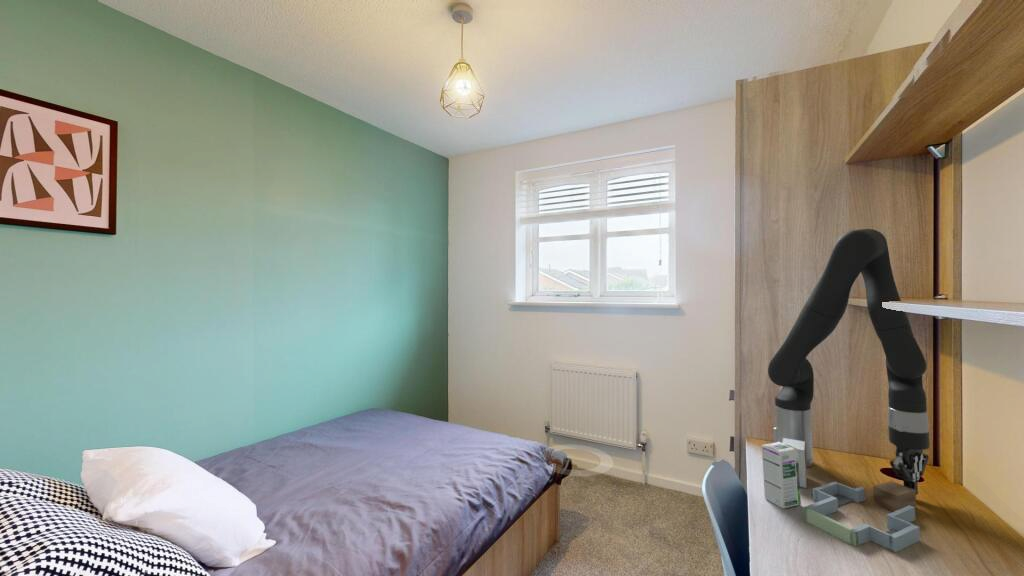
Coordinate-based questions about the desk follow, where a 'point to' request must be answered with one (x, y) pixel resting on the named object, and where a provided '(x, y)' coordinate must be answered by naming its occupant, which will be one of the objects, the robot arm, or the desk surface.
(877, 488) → the walnut block
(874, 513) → the desk surface
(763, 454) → the syrup box
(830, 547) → the desk surface
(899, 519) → the trap channel
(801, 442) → the small box
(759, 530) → the desk surface
